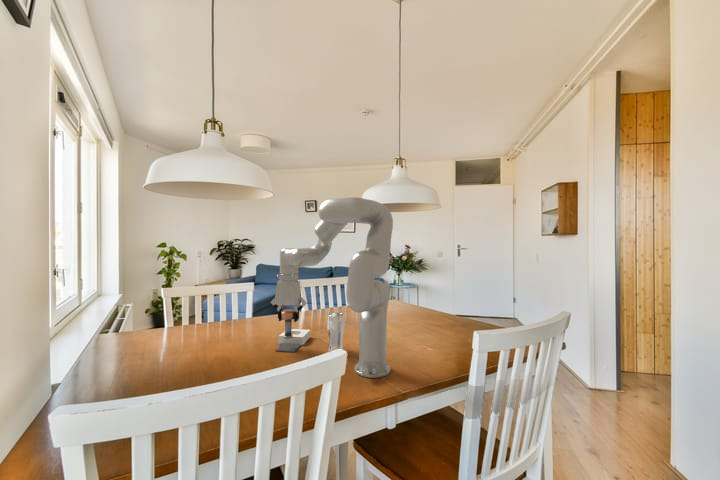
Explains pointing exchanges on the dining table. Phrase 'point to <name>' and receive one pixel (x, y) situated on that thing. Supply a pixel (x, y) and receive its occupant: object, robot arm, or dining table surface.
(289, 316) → the copper topped tamper
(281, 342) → the eye block
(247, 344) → the dining table surface
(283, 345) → the rubber mat
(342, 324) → the beer glass
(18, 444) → the dining table surface
